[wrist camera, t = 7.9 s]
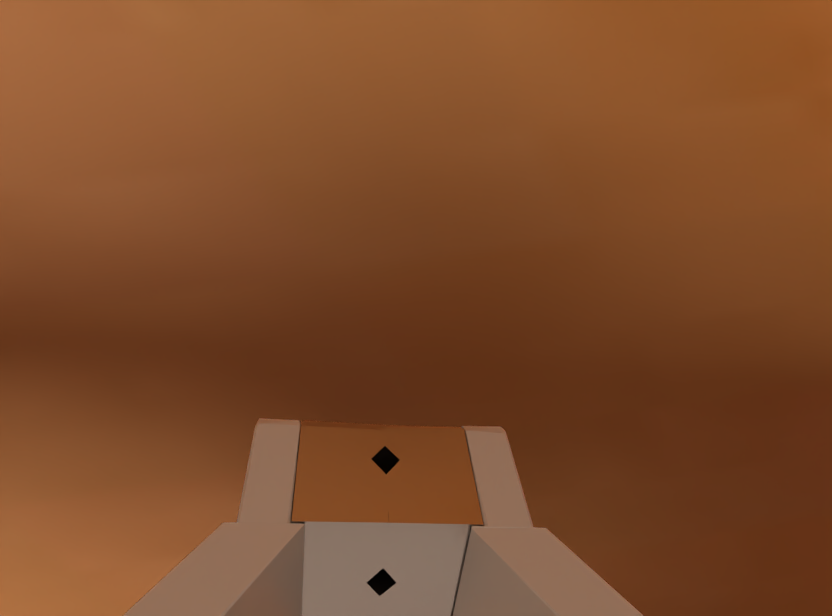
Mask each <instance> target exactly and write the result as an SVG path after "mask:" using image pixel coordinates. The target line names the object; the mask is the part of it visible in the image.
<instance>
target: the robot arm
mask: <svg viewBox="0 0 832 616" xmlns="http://www.w3.org/2000/svg"><path fill="white" fill-rule="evenodd" d="M123 616H643V615H642V614H641V613H640V612H639V611H638V610H637V609H636V608H635V607H633V606H632V605H631V604H630V603H629V602H628V601H627V600H626V599H625V598H623V597H622V596H621V595H620V594H619V593H618V592H617V591H616V590H615V589H614V588H612V587H611V586H610V585H609V584H608V583H607V582H606V581H605V580H604V579H602V578H601V577H600V576H599V575H598V574H597V573H596V572H595V571H594V570H592V569H591V568H590V567H589V566H588V565H587V564H586V563H585V562H584V561H582V560H581V559H580V558H579V557H578V556H577V555H576V554H575V553H574V552H572V551H571V550H570V549H569V548H568V547H567V546H566V545H565V544H564V543H562V542H561V541H560V540H559V539H558V538H557V537H556V536H555V535H554V534H553V533H551V532H550V531H549V530H548V529H547V528H536V527H534V526H533V523H532V520H531V516H530V513H529V509H528V506H527V502H526V499H525V496H524V492H523V489H522V485H521V482H520V478H519V475H518V472H517V468H516V465H515V461H514V458H513V454H512V451H511V447H510V444H509V441H508V437H507V434H506V431H505V430H504V429H503V428H502V427H501V426H462V427H450V426H414V425H383V424H366V423H349V422H331V421H314V420H302V424H301V421H299V420H284V419H266V418H259V420H258V422H257V424H256V425H255V429H254V434H253V439H252V445H251V450H250V455H249V460H248V465H247V470H246V476H245V481H244V486H243V491H242V496H241V502H240V507H239V512H238V517H237V522H223V523H222V524H221V525H220V526H218V527H217V528H216V529H215V530H214V531H213V532H212V533H211V534H210V535H209V536H208V537H207V538H206V539H204V540H203V541H202V542H201V543H200V544H199V545H198V546H197V547H196V548H195V549H194V550H193V551H192V552H190V553H189V554H188V555H187V556H186V557H185V558H184V559H183V560H182V561H181V562H180V563H179V564H178V565H176V566H175V567H174V568H173V569H172V570H171V571H170V572H169V573H168V574H167V575H166V576H165V577H164V578H162V579H161V580H160V581H159V582H158V583H157V584H156V585H155V586H154V587H153V588H152V589H151V590H150V591H148V592H147V593H146V594H145V595H144V596H143V597H142V598H141V599H140V600H139V601H138V602H137V603H136V604H134V605H133V606H132V607H131V608H130V609H129V610H128V611H127V612H126V613H125V614H124V615H123Z"/></svg>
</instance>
